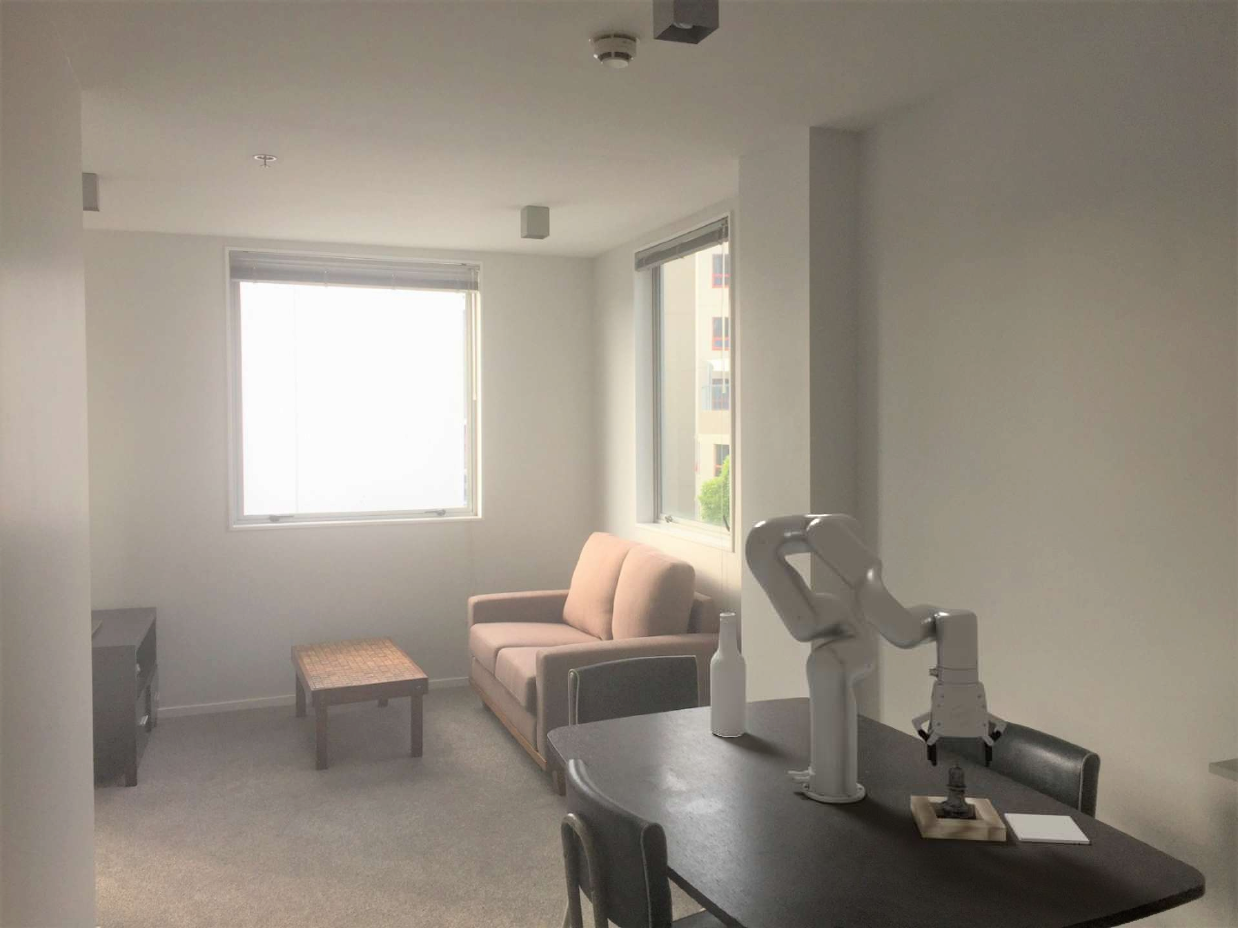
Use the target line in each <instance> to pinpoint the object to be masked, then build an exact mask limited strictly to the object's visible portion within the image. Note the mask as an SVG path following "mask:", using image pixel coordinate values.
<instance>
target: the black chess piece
mask: <svg viewBox="0 0 1238 928" xmlns="http://www.w3.org/2000/svg"><path fill="white" fill-rule="evenodd" d="M946 787H947V797H948V798H947V800H946V801H943V802H941V803H940V806H941V807H942V811H943V813H944V815H943V816H945V817H946V818H945V819H965V820H968V819H969V817H971V816H970V813H971V810H972V809H973V807H972V806H971V805H970V804H969V803H967V802H966V801H965V798H966V797H965V794H966V792H965V791H966V790H965V789H967V785H966V784H965V770H964V769H963V768H962V767H961V766H959V763H958V762H957V761H955V763H954V766H951V767H950V768H949V769H948V783H946Z"/></svg>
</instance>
